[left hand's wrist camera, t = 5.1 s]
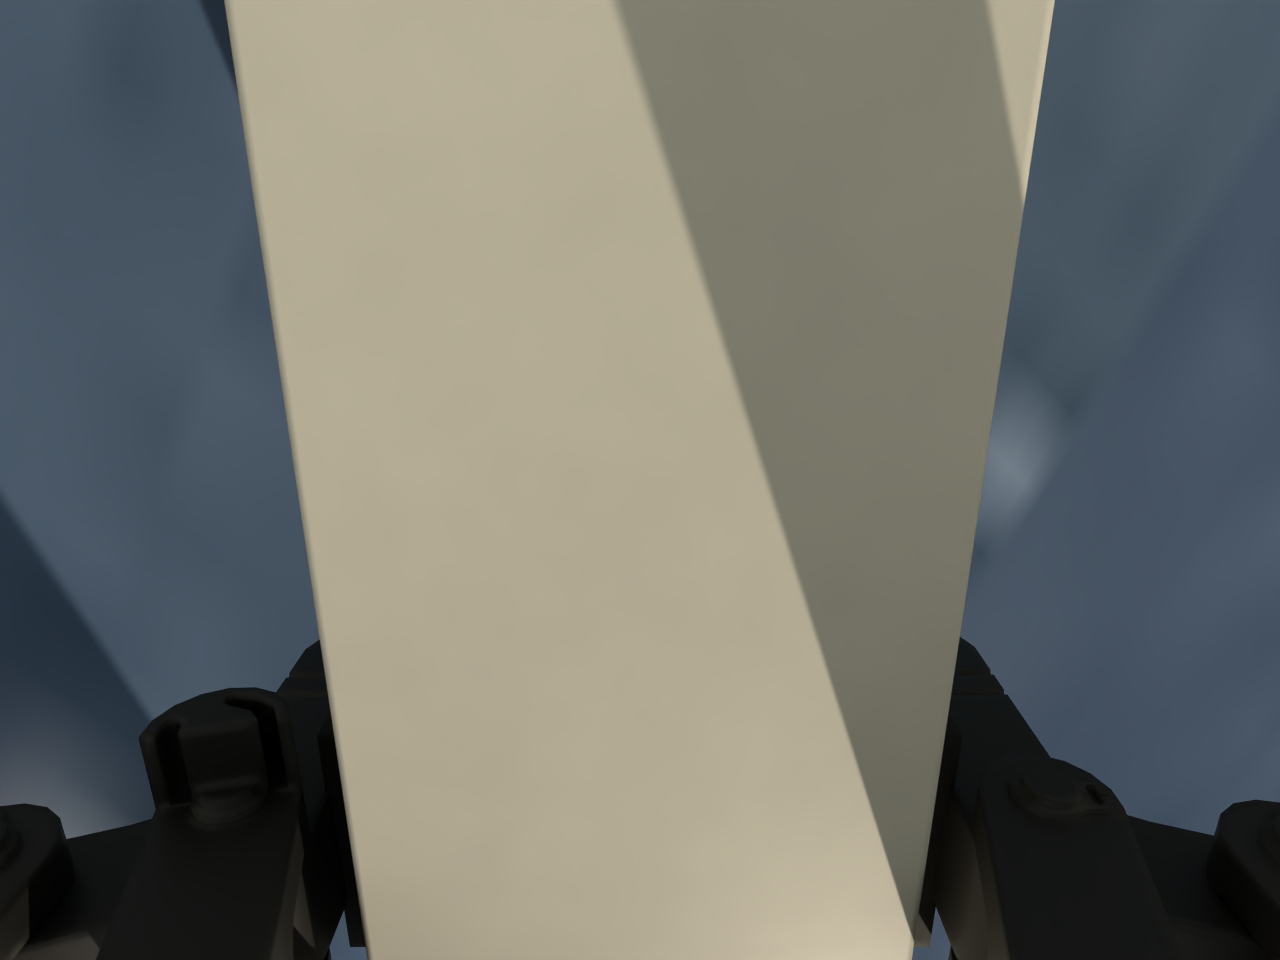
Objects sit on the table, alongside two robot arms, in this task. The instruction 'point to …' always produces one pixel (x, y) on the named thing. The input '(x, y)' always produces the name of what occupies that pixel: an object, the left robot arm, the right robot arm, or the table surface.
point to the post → (639, 446)
